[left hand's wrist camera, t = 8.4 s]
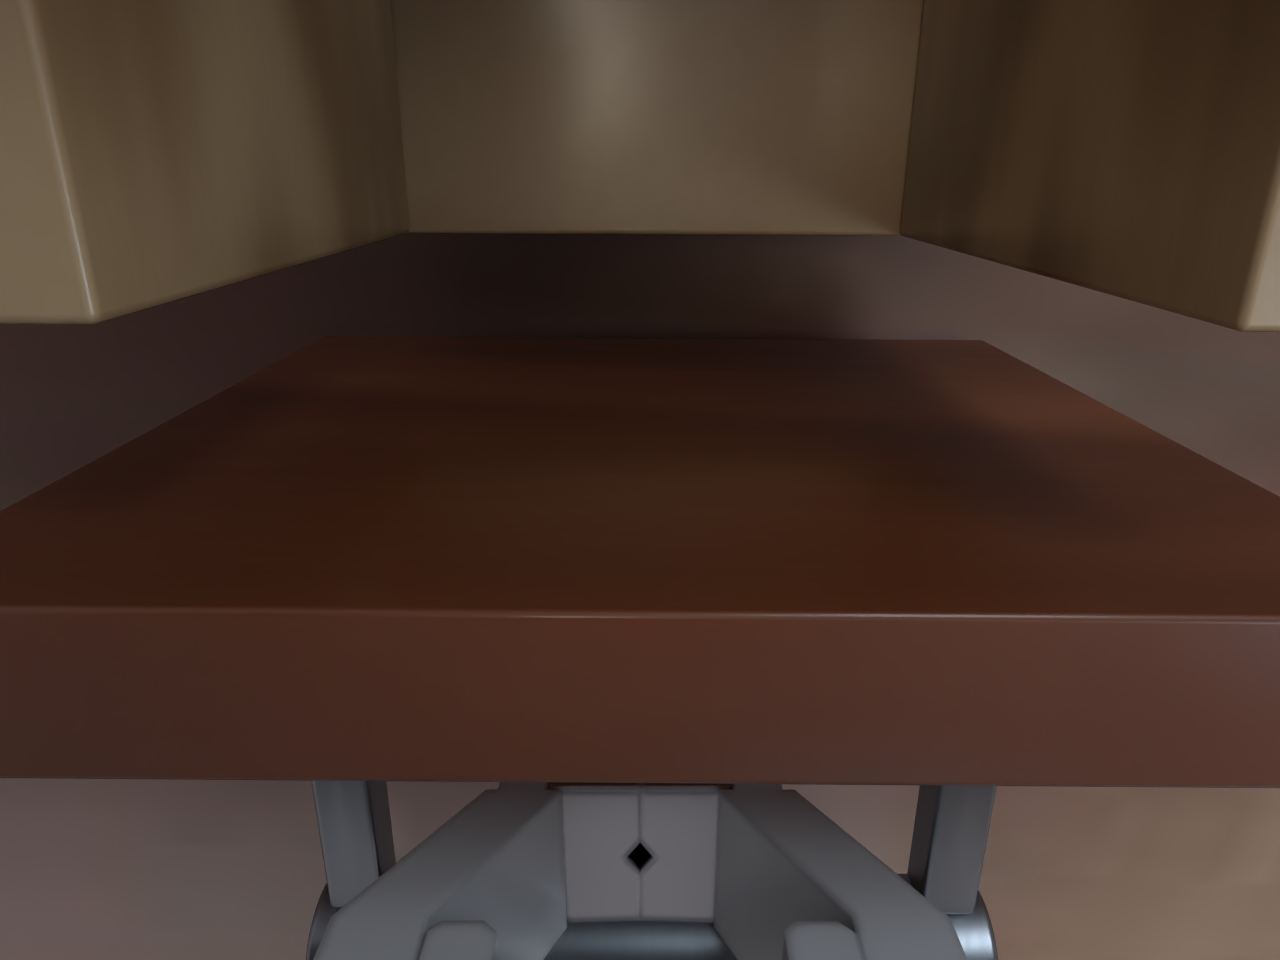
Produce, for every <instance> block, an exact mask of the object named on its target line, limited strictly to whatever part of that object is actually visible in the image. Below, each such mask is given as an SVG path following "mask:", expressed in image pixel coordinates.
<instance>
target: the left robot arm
mask: <svg viewBox="0 0 1280 960" xmlns="http://www.w3.org/2000/svg"><path fill="white" fill-rule="evenodd" d="M621 921H658V922H693V923H714V928H715V929H716V931H717V932H718V933H719V935H720V936H721V938H722V939H723V940H724V942H725V943H726V944H727V946H728V947H729V949H730V950H731V951H732V953H733V954H734V956H735V957H736V958H737V960H967V957H966V955H965V952H964V950H963V948H962V945H961V943H960V940H959V938H958V935H957V933H956V930H955V928H954V925H953V923H952V921H951V918H950V917H948V916H947V915H946V914H945V913H944V912H942V911H941V910H940V909H939V908H938V907H936V906H935V905H934V904H933V903H931V902H930V901H929V900H928V899H927V898H925V897H924V896H923V895H922V894H921V893H919V892H918V891H917V890H916V889H914V888H913V887H912V886H911V885H910V884H908V883H907V882H906V881H905V880H904V879H902V878H901V877H900V876H899V875H897V874H896V873H895V872H894V871H893V870H891V869H890V868H889V867H888V866H887V865H885V864H884V863H883V862H882V861H880V860H879V859H878V858H877V857H876V856H874V855H873V854H872V853H871V852H870V851H868V850H867V849H866V848H865V847H863V846H862V845H861V844H860V843H859V842H857V841H856V840H855V839H854V838H853V837H851V836H850V835H849V834H848V833H846V832H845V831H844V830H843V829H842V828H840V827H839V826H838V825H837V824H836V823H834V822H833V821H832V820H831V819H829V818H828V817H827V816H826V815H825V814H823V813H822V812H821V811H820V810H818V809H817V808H816V807H815V806H814V805H812V804H811V803H810V802H809V801H808V800H806V799H805V798H804V797H803V796H801V795H800V794H799V793H798V792H797V791H795V790H782V786H781V784H705V783H579V782H500V783H499V787H498V790H485V791H484V792H483V793H481V794H480V795H479V796H478V797H476V798H475V799H474V800H473V801H472V802H470V803H469V804H468V805H467V806H466V807H464V808H463V809H462V810H461V811H459V812H458V813H457V814H456V815H455V816H453V817H452V818H451V819H450V820H448V821H447V822H446V823H445V824H444V825H442V826H441V827H440V828H439V829H437V830H436V831H435V832H434V833H433V834H431V835H430V836H429V837H428V838H426V839H425V840H424V841H423V842H422V843H420V844H419V845H418V846H417V847H415V848H414V849H413V850H412V851H411V852H409V853H408V854H407V855H406V856H404V857H403V858H402V859H401V860H400V861H398V862H397V863H396V864H395V865H394V866H392V867H391V868H390V869H389V870H387V871H386V872H385V873H384V874H383V875H381V876H380V877H379V878H378V879H376V880H375V881H374V882H373V883H372V884H370V885H369V886H368V887H367V888H365V889H364V890H363V891H362V892H361V893H359V894H358V895H357V896H356V897H354V898H353V899H352V900H351V901H350V902H348V903H347V904H346V905H345V906H343V907H342V908H341V909H340V910H339V911H337V912H336V913H335V914H334V915H332V916H331V918H330V920H329V923H328V925H327V928H326V930H325V932H324V935H323V937H322V940H321V942H320V945H319V947H318V949H317V952H316V954H315V957H314V959H313V960H544V958H545V957H546V955H547V954H548V953H549V951H550V950H551V949H552V947H553V946H554V944H555V943H556V942H557V940H558V939H559V938H560V936H561V935H562V934H563V932H564V931H565V929H566V928H567V923H587V922H621Z"/></svg>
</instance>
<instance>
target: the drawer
mask: <svg viewBox="0 0 1280 960" xmlns="http://www.w3.org/2000/svg"><path fill="white" fill-rule="evenodd" d="M405 233H498V234H693V235H887V236H905V237H908V238H912V239H915V240H919V241H922V242H926V243H929V244H933V245H937V246H940V247H944V248H947V249H951V250H954V251H958V252H961V253H965V254H968V255H972V256H976V257H979V258H983V259H986V260H990V261H993V262H997V263H1000V264H1004V265H1007V266H1011V267H1015V268H1018V269H1022V270H1025V271H1029V272H1032V273H1036V274H1039V275H1043V276H1046V277H1050V278H1054V279H1057V280H1061V281H1064V282H1068V283H1071V284H1075V285H1078V286H1082V287H1085V288H1089V289H1093V290H1096V291H1100V292H1103V293H1107V294H1110V295H1114V296H1117V297H1121V298H1124V299H1128V300H1132V301H1135V302H1139V303H1142V304H1146V305H1149V306H1153V307H1156V308H1160V309H1163V310H1167V311H1171V312H1174V313H1178V314H1181V315H1185V316H1188V317H1192V318H1195V319H1199V320H1202V321H1206V322H1210V323H1213V324H1217V325H1220V326H1224V327H1227V328H1231V329H1234V330H1238V331H1241V332H1280V0H0V324H96V323H99V322H103V321H106V320H110V319H113V318H117V317H120V316H123V315H127V314H130V313H134V312H137V311H141V310H144V309H148V308H151V307H154V306H158V305H161V304H165V303H168V302H172V301H175V300H178V299H182V298H185V297H189V296H192V295H196V294H199V293H203V292H206V291H209V290H213V289H216V288H220V287H223V286H227V285H230V284H233V283H237V282H240V281H244V280H247V279H251V278H254V277H258V276H261V275H264V274H268V273H271V272H275V271H278V270H282V269H285V268H288V267H292V266H295V265H299V264H302V263H306V262H309V261H313V260H316V259H319V258H323V257H326V256H330V255H333V254H337V253H340V252H343V251H347V250H350V249H354V248H357V247H361V246H364V245H367V244H371V243H374V242H378V241H381V240H385V239H388V238H392V237H395V236H398V235H402V234H405ZM0 778H75V779H201V780H311V781H312V788H313V794H314V801H315V807H316V814H317V820H318V827H319V833H320V840H321V846H322V853H323V859H324V866H325V872H326V878H327V883H326V885H325V887H324V889H323V891H322V894H321V896H320V899H319V901H318V904H317V907H316V910H315V913H314V917H313V921H312V925H311V929H310V934H309V940H308V946H307V954H306V960H313V959H314V957H315V954H316V952H317V949H318V947H319V945H320V942H321V940H322V937H323V935H324V932H325V930H326V928H327V925H328V923H329V920H330V918H331V916H332V915H334V914H335V913H336V912H337V911H339V910H340V909H341V908H342V907H343V906H345V905H346V904H347V903H348V902H350V901H351V900H352V899H353V898H354V897H356V896H357V895H358V894H359V893H361V892H362V891H363V890H364V889H365V888H367V887H368V886H369V885H370V884H372V883H373V882H374V881H375V880H376V879H378V878H379V877H380V876H381V875H383V874H384V873H385V872H386V871H387V870H389V869H390V868H391V867H392V866H394V865H395V864H396V861H395V853H394V844H393V836H392V827H391V819H390V810H389V802H388V793H387V785H386V781H453V782H579V783H705V784H831V785H920V788H919V795H918V802H917V809H916V816H915V823H914V830H913V837H912V845H911V852H910V859H909V866H908V873H907V874H897V875H899V876H900V877H901V878H902V879H904V880H905V881H906V882H907V883H908V884H910V885H911V886H912V887H913V888H914V889H916V890H917V891H918V892H919V893H921V894H922V895H923V896H924V897H925V898H927V899H928V900H929V901H930V902H931V903H933V904H934V905H935V906H936V907H938V908H939V909H940V910H941V911H942V912H944V913H945V914H946V915H947V916H948V917H950V918H951V921H952V923H953V925H954V928H955V930H956V933H957V935H958V938H959V940H960V943H961V945H962V948H963V950H964V952H965V955H966V957H967V960H998V955H997V948H996V942H995V937H994V932H993V928H992V924H991V921H990V917H989V914H988V911H987V908H986V906H985V903H984V901H983V898H982V896H981V894H980V892H979V890H978V887H979V881H980V875H981V870H982V864H983V859H984V853H985V848H986V842H987V836H988V831H989V825H990V820H991V814H992V809H993V803H994V797H995V792H996V786H1082V787H1209V788H1280V497H1279V496H1277V495H1275V494H1273V493H1271V492H1269V491H1268V490H1266V489H1264V488H1262V487H1260V486H1258V485H1256V484H1254V483H1252V482H1250V481H1248V480H1247V479H1245V478H1243V477H1241V476H1239V475H1237V474H1235V473H1233V472H1231V471H1229V470H1228V469H1226V468H1224V467H1222V466H1220V465H1218V464H1216V463H1214V462H1212V461H1210V460H1209V459H1207V458H1205V457H1203V456H1201V455H1199V454H1197V453H1195V452H1193V451H1191V450H1190V449H1188V448H1186V447H1184V446H1182V445H1180V444H1178V443H1176V442H1174V441H1172V440H1171V439H1169V438H1167V437H1165V436H1163V435H1161V434H1159V433H1157V432H1155V431H1153V430H1152V429H1150V428H1148V427H1146V426H1144V425H1142V424H1140V423H1138V422H1136V421H1134V420H1133V419H1131V418H1129V417H1127V416H1125V415H1123V414H1121V413H1119V412H1117V411H1115V410H1114V409H1112V408H1110V407H1108V406H1106V405H1104V404H1102V403H1100V402H1098V401H1096V400H1094V399H1093V398H1091V397H1089V396H1087V395H1085V394H1083V393H1081V392H1079V391H1077V390H1075V389H1074V388H1072V387H1070V386H1068V385H1066V384H1064V383H1062V382H1060V381H1058V380H1056V379H1055V378H1053V377H1051V376H1049V375H1047V374H1045V373H1043V372H1041V371H1039V370H1037V369H1036V368H1034V367H1032V366H1030V365H1028V364H1026V363H1024V362H1022V361H1020V360H1018V359H1017V358H1015V357H1013V356H1011V355H1009V354H1007V353H1005V352H1003V351H1001V350H999V349H998V348H996V347H994V346H992V345H990V344H988V343H986V342H984V341H982V340H824V339H648V338H472V337H323V338H321V339H319V340H317V341H316V342H314V343H312V344H310V345H308V346H306V347H304V348H303V349H301V350H299V351H297V352H295V353H293V354H291V355H290V356H288V357H286V358H284V359H282V360H280V361H278V362H277V363H275V364H273V365H271V366H269V367H267V368H265V369H264V370H262V371H260V372H258V373H256V374H254V375H252V376H251V377H249V378H247V379H245V380H243V381H241V382H239V383H238V384H236V385H234V386H232V387H230V388H228V389H226V390H225V391H223V392H221V393H219V394H217V395H215V396H213V397H212V398H210V399H208V400H206V401H204V402H202V403H200V404H199V405H197V406H195V407H193V408H191V409H189V410H188V411H186V412H184V413H182V414H180V415H178V416H176V417H175V418H173V419H171V420H169V421H167V422H165V423H163V424H162V425H160V426H158V427H156V428H154V429H152V430H150V431H149V432H147V433H145V434H143V435H141V436H139V437H137V438H136V439H134V440H132V441H130V442H128V443H126V444H124V445H123V446H121V447H119V448H117V449H115V450H113V451H111V452H110V453H108V454H106V455H104V456H102V457H100V458H98V459H97V460H95V461H93V462H91V463H89V464H87V465H85V466H84V467H82V468H80V469H78V470H76V471H74V472H72V473H71V474H69V475H67V476H65V477H63V478H61V479H59V480H58V481H56V482H54V483H52V484H50V485H48V486H46V487H45V488H43V489H41V490H39V491H37V492H35V493H33V494H32V495H30V496H28V497H26V498H24V499H22V500H20V501H19V502H17V503H15V504H13V505H11V506H9V507H8V508H6V509H4V510H2V511H0ZM544 960H737V958H736V957H735V956H734V954H733V953H732V951H731V950H730V949H729V947H728V946H727V944H726V943H725V942H724V940H723V939H722V938H721V936H720V935H719V933H718V932H717V931H716V929H715V928H714V923H693V922H658V921H621V922H587V923H567V928H566V929H565V931H564V932H563V934H562V935H561V936H560V938H559V939H558V940H557V942H556V943H555V944H554V946H553V947H552V949H551V950H550V951H549V953H548V954H547V955H546V957H545V958H544Z"/></svg>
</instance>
